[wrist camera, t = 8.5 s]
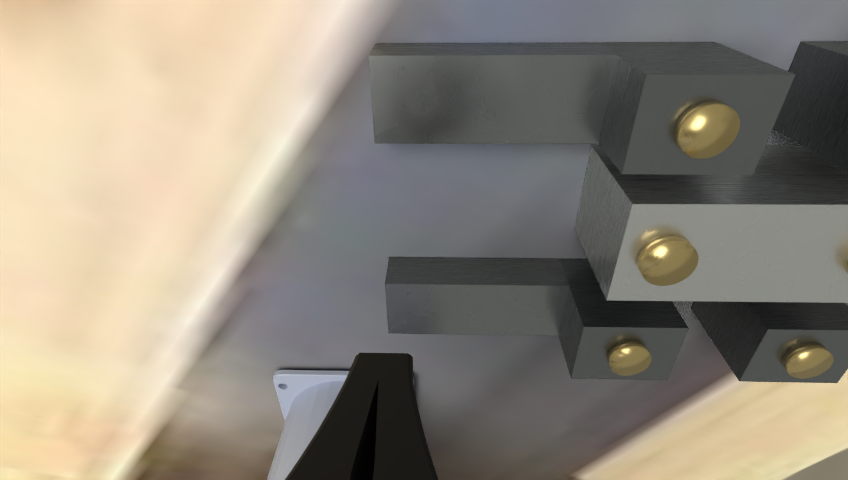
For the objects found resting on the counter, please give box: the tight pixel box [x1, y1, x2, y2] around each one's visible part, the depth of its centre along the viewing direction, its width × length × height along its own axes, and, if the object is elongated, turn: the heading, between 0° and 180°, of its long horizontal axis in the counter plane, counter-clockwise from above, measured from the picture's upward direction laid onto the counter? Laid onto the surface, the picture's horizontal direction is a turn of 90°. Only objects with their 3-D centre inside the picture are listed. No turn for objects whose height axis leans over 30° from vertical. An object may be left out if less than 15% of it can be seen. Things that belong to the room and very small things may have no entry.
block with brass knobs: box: [575, 145, 848, 303], centre depth 17 cm, size 4×10×6 cm, turn 91°
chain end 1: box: [369, 42, 795, 380], centre depth 18 cm, size 12×12×5 cm
